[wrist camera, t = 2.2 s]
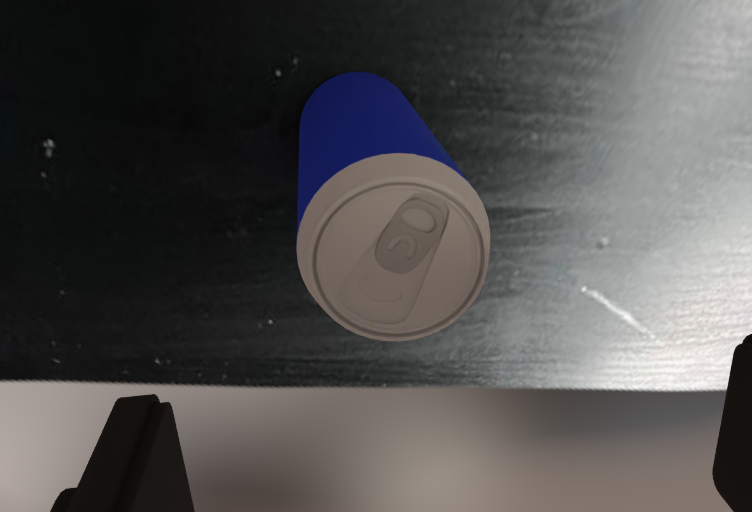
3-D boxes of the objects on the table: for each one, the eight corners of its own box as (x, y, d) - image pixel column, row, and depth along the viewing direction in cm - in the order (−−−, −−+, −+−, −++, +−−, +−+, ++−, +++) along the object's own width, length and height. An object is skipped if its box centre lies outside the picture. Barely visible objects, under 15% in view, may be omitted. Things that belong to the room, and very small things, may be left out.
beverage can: (379, 199, 32) (437, 378, 18) (280, 152, 30) (262, 308, 17) (432, 102, 30) (539, 218, 17) (330, 48, 29) (354, 126, 15)
